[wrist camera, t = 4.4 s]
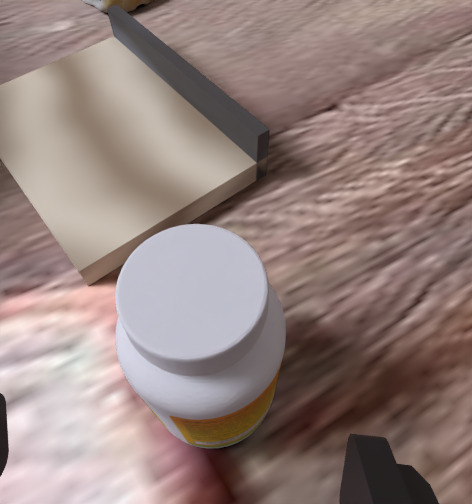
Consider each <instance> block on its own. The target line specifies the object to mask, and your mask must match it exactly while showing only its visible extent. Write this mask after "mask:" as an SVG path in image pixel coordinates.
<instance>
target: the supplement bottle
mask: <svg viewBox="0 0 472 504" xmlns="http://www.w3.org/2000/svg"><path fill="white" fill-rule="evenodd" d="M115 301H116V309H117V314H118V316H119V317H118V320H117V325H116V335H115V336H116V350H117V356H118V359H119V363H120V365H121V368H122V370H123V373H124V375H125V376H126V378H127V380H128V382H129V383H130V385H131V386H132V388H133V389H134V390H135V392H136V393H137V394H138V395H139V396H140V398H141V399H142V400H143V401H144V402H145V403H146V405H147V406H148V407H149V408H150V409H151V411H152V412H153V413H154V414H155V416H156V417H157V418H158V419H159V420H160V422H161V423H162V424H163V425H164V426H165V427H166V428H167V429H168V431H170V432H171V433H172V434H173V435H175V436H176V437H177V438H179V439H180V440H182V441H184V442H185V443H188V444H190V445H193V446H197V447H202V448H221V447H226V446H230V445H233V444H235V443H238V442H240V441H241V440H243V439H245V438H246V437H248V436H249V435H250V434H251V433H252V432H254V431H255V430H256V429H257V427H258V426H259V425H260V424H261V422H262V421H263V420H264V418H265V416H266V415H267V413H268V411H269V408H270V406H271V404H272V401H273V397H274V393H275V389H276V384H277V379H278V375H279V371H280V367H281V363H282V359H283V355H284V350H285V340H286V324H285V317H284V312H283V308H282V306H281V303H280V300H279V298H278V296H277V294H276V292H275V291H274V289H273V288H272V286H271V285H270V283H269V282H268V277H267V272H266V269H265V267H264V264H263V262H262V261H261V259H260V257H259V256H258V254H257V253H256V251H255V250H254V249H253V247H252V246H251V245H249V244H248V243H247V242H246V241H245V240H244V239H243V238H241V237H240V236H238V235H236V234H235V233H233V232H231V231H228V230H226V229H223V228H220V227H217V226H213V225H205V224H187V225H180V226H176V227H172V228H169V229H166V230H164V231H161V232H159V233H157V234H155V235H153V236H152V237H150V238H148V239H147V240H145V241H144V242H143V243H142V244H140V245H139V246H138V247H137V248H136V249H135V250H134V251H133V253H132V254H131V255H130V256H129V258H128V259H127V261H126V262H125V264H124V266H123V267H122V270H121V272H120V275H119V277H118V281H117V285H116V294H115Z"/></svg>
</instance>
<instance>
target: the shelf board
mask: <svg viewBox="0 0 472 504" xmlns="http://www.w3.org/2000/svg"><path fill="white" fill-rule="evenodd" d="M107 11H108V15H109V19H110V23H111V26H112V30H113V34H114V37H112V38H109V39H107V40H105V41H102V42H100V43H98V44H95V45H93V46H90V47H88V48H86V49H83V50H81V51H79V52H76V53H74V54H72V55H69V56H67V57H65V58H62V59H60V60H58V61H55V62H53V63H51V64H48V65H46V66H44V67H41V68H39V69H37V70H34V71H32V72H29V73H27V74H25V75H22V76H20V77H18V78H15V79H13V80H11V81H8V82H6V83H4V84H1V85H0V159H1V161H2V162H3V163H4V165H5V166H6V168H7V169H8V171H9V172H10V174H11V175H12V176H13V178H14V179H15V181H16V182H17V184H18V185H19V187H20V188H21V189H22V191H23V192H24V194H25V195H26V197H27V198H28V200H29V201H30V202H31V204H32V205H33V207H34V208H35V210H36V211H37V213H38V214H39V215H40V217H41V218H42V220H43V221H44V223H45V224H46V226H47V227H48V228H49V230H50V231H51V233H52V234H53V236H54V237H55V239H56V240H57V241H58V243H59V244H60V246H61V247H62V249H63V250H64V251H65V253H66V254H67V256H68V257H69V259H70V260H71V262H72V263H73V264H74V266H75V267H76V269H77V270H78V272H79V273H80V275H81V276H82V277H83V279H84V280H85V282H86V283H87V285H88V286H89V285H91V284H92V283H94V282H96V281H97V280H99V279H100V278H102V277H103V276H105V275H107V274H108V273H110V272H111V271H113V270H115V269H116V268H118V267H119V266H121V265H123V264H124V263H125V262H126V261H127V259H128V258H129V256H130V255H131V254H132V253H133V251H134V250H135V249H136V248H137V247H138V246H139V245H140V244H142V243H143V242H144V241H145V240H147V239H148V238H150V237H152V236H153V235H155V234H157V233H159V232H161V231H164V230H166V229H169V228H172V227H176V226H180V225H186V224H188V223H190V222H191V221H193V220H194V219H196V218H197V217H199V216H201V215H202V214H204V213H205V212H207V211H209V210H210V209H212V208H213V207H215V206H217V205H218V204H220V203H221V202H223V201H225V200H226V199H228V198H229V197H231V196H233V195H234V194H236V193H237V192H239V191H241V190H242V189H244V188H245V187H247V186H248V185H250V184H252V183H253V182H255V181H256V180H258V179H260V178H261V177H263V176H264V175H266V171H267V157H268V143H269V129H268V128H267V127H266V126H265V125H263V124H262V123H261V122H260V121H258V120H257V119H256V118H255V117H254V116H252V115H251V114H250V113H249V112H248V111H246V110H245V109H244V108H243V107H241V106H240V105H239V104H238V103H237V102H235V101H234V100H233V99H232V98H230V97H229V96H228V95H227V94H226V93H224V92H223V91H222V90H221V89H219V88H218V87H217V86H216V85H215V84H213V83H212V82H211V81H210V80H209V79H207V78H206V77H205V76H204V75H202V74H201V73H200V72H199V71H198V70H196V69H195V68H194V67H193V66H191V65H190V64H189V63H188V62H187V61H185V60H184V59H183V58H182V57H180V56H179V55H178V54H177V53H176V52H174V51H173V50H172V49H171V48H170V47H168V46H167V45H166V44H165V43H163V42H162V41H161V40H160V39H159V38H157V37H156V36H155V35H154V34H152V33H151V32H150V31H149V30H148V29H146V28H145V27H144V26H143V25H141V24H140V23H139V22H138V21H137V20H135V19H134V18H133V17H132V16H131V15H129V14H128V13H127V12H126V11H124V10H123V9H122V8H121V7H120V6H118V5H114V6H112V7H109V8H107Z"/></svg>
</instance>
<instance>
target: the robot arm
mask: <svg viewBox="0 0 472 504" xmlns="http://www.w3.org/2000/svg"><path fill="white" fill-rule="evenodd" d="M8 452H9V448H8V431H7V414H6V401H5V398H4V396H3V395H2V394H1V393H0V476H1V475H2V473H3V471H4V468H5V466H6V463H7V459H8ZM340 504H439V503H438V500H437V498H436V496H435V494H434V492H433V490H432V488H431V486H430V484H429V483H428V482H427V481H426V480H425V479H424V478H423V477H422V476H421V475H420V474H419V473H418V472H417V471H416V470H415V469H414V468H413V467H412V466H410V465H402V464H397V463H396V461H395V458H394V456H393V453H392V451H391V448H390V446H389V443H388V441H387V439H386V438H384V437H375V436H367V435H358V434H350V436H349V438H348V443H347V449H346V456H345V463H344V470H343V476H342V483H341V490H340Z"/></svg>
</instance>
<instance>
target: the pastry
mask: <svg viewBox="0 0 472 504" xmlns="http://www.w3.org/2000/svg"><path fill="white" fill-rule="evenodd" d="M82 1H83V2H84V3H86V4H89V5H91V6H94V7H96V8H97V9H99V10H101V11H103V12H106V13H108V11H107V8H109V7H112V6H114V5H118V6H120V7H121V8H122V9H123V10H124V11H126V12H129V11H134V10H135V9H136V7H137V6H138V5H140V4H145V5H147V4H148V3H150V2H152V1H154V0H82Z"/></svg>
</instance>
